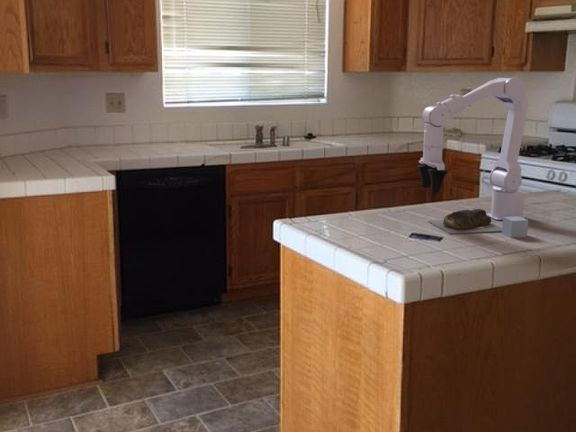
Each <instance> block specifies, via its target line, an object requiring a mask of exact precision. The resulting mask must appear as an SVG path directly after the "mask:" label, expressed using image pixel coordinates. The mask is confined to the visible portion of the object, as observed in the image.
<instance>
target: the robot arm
mask: <svg viewBox="0 0 576 432" xmlns="http://www.w3.org/2000/svg"><path fill="white" fill-rule="evenodd" d="M526 92H527V85H526V84H525V82H524V81H523V80H522V79H521V78H519V77H496V78H495V79H492V80H489V81H487V82H485V83H483V84H482V85H480V86H478V87H477V88H475V89H473V90H471V91H470V92H468V93H466V94H464V95H461V94H453V93H452V94H450V95H449V96H448V97H449V98H447V99H445V100H442V101H438V102H436V103H435V104H436V105H435V106H433V105H430V106H427V107H425V108H424V110H423V111H422V114H421V115H420V118H421V122H422V123H423V125H424V127H423V128H424V129H423V143H422V144H423V146H422V147H423V151H422V152H423V153H422V157H420V160H418V163H420V164H421V165H417V166H416V167H417V170H418V172H419V175H420V179H421V185H422V188H423V189H431V192H432V193H440V191H441V189H442V184H443V182H444V179H445V176H447V174H448V170H447V169H445V167H446V166H445V162H444V161H443V147H444V145H443V143H444V142H443V141H444V127H445V126H444V125H445V124H446V123H447V122H448V121H449V120H450V119H453V118H455V117H457V116H459V115H461V114H463V113H465V112H466V110H467V108H468V106H470V105H472V104H475V103H477V102H480V101H482V100H483V99H486V98H489V97H491V96H493V97H494V98H496V99H497V100H499V101H500V102H502V103H503V105H505V106H506V108H507V110H508V112H507V115H506V123H505V127H504V132H503V139H502V142H501V143H502V144H501V150H500V156H499V158H498V160H497V161H495V162H494V164H493V168H492V170H491V171H490V173H489V179H488V180H489V183H490V184H491V186H492V187H491V188H492V195H491V197H492V198H491V210H490V213H489V212H488V213H487V212H486V215H487V216H489V217H490V218H491V219H494V220H495V221H503V217H516V216H520V217H522V218H524V219H525V216H524V209H525V195H524V192H523V191H522V190H520V187H521V185H522V182H523V177H522V167H521V165H520V164H519V162H518V160H519V156H520V149H521V145H522V141H523V135H524V128H525V125H526V119H527V113H528V108H529V103H528V99H527V93H526Z"/></svg>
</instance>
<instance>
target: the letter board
mask: <svg viewBox="0 0 576 432" xmlns="http://www.w3.org/2000/svg"><path fill="white" fill-rule="evenodd" d="M443 222H444V219H437V220H435V219H433V220H428V221H427V223H429V224H431V225H433V226H435V227H436V228H438V229H439V230H442V231H443V232H445V233H446V234H448V235H462V234H463V235H466V234H468V235H469V234H485V233H502V226H499V225H496V223H495V224H494V223H493V222H491V223H489V224H487V225H485V226H482V227H478V228H472V229H466V230H460V229H456V228H451V227H447V226H444V224H443Z"/></svg>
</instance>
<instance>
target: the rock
mask: <svg viewBox="0 0 576 432" xmlns="http://www.w3.org/2000/svg"><path fill="white" fill-rule="evenodd" d="M486 214H487V211H486V210H485V209H483V208H482V209H481V208H469V209H464V210H463V209H461V210H458V211H453V212H451V213H449V214H447V215H445V216H444V217H443V220H444V222H443V224H444V226H447V227H451V228H456V229H460V230H466V229H472V228H478V227H482V226H485V225H487V224H489V223H492V218H491V217H489V216H487V215H486Z"/></svg>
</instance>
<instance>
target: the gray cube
mask: <svg viewBox="0 0 576 432" xmlns="http://www.w3.org/2000/svg"><path fill="white" fill-rule="evenodd" d="M501 228H502V232H501V234H502V235H504V236H506V237H507V238H510V239H511V238H512V239H513V238H514V237H517V238H527V237H528V229H529V219H526V218H525V217H524V218H522V217H520V216H516V217H503V220H502V226H501ZM514 239H515V238H514Z"/></svg>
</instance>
